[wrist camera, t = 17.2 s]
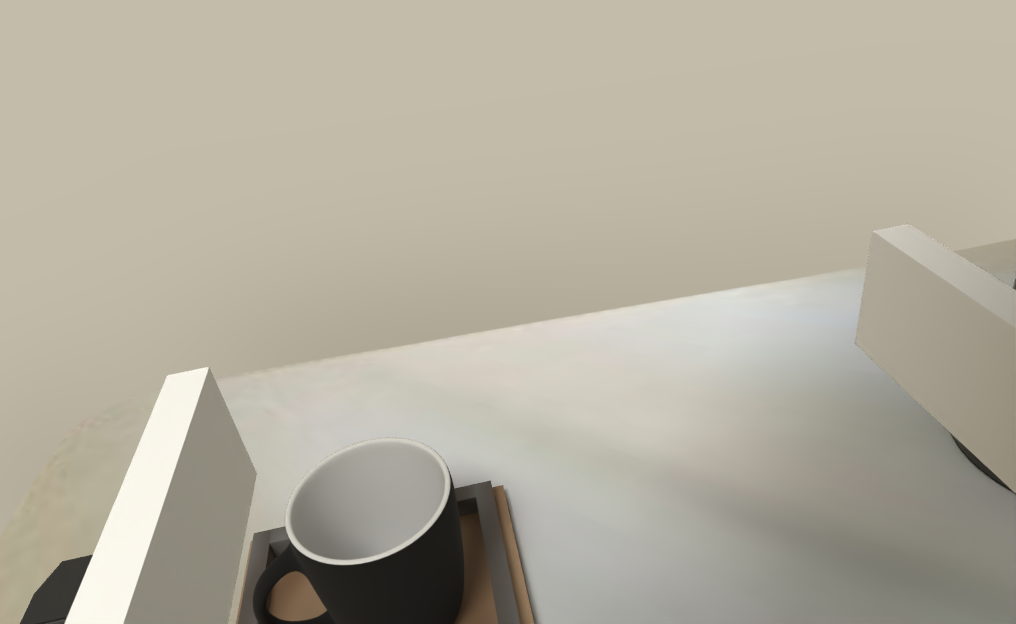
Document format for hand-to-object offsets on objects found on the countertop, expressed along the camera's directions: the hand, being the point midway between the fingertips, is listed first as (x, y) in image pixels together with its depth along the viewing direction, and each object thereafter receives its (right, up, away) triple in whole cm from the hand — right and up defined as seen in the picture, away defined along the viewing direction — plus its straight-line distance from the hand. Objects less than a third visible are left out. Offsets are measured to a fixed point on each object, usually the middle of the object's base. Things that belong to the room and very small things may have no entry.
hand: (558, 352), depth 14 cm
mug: (-8, -18, +28) cm, 35 cm away
